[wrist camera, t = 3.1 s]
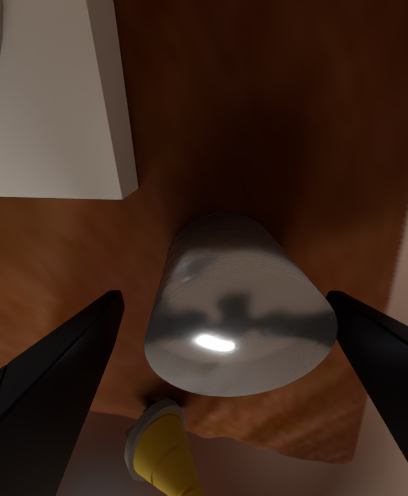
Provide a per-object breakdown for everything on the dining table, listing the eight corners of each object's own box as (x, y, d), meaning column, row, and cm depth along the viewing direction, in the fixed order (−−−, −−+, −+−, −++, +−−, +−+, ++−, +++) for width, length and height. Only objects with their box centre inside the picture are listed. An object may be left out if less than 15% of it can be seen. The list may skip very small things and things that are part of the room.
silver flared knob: (170, 302, 11) (154, 398, 7) (163, 210, 9) (129, 275, 4) (263, 302, 12) (303, 394, 7) (287, 213, 9) (375, 277, 4)
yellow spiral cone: (122, 389, 17) (182, 499, 10) (170, 377, 21) (241, 451, 13) (107, 454, 16) (160, 629, 9) (160, 430, 20) (229, 541, 12)
